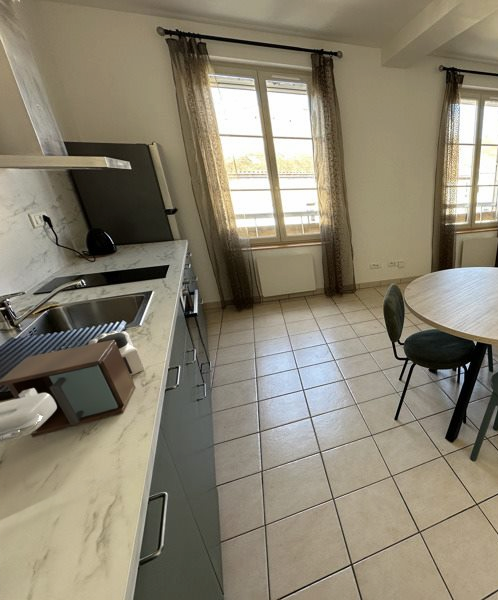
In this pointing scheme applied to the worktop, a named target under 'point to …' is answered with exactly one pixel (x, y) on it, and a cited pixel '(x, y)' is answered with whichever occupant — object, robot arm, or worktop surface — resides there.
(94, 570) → the worktop surface
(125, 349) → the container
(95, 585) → the worktop surface
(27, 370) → the cupboard
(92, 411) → the sliding door
